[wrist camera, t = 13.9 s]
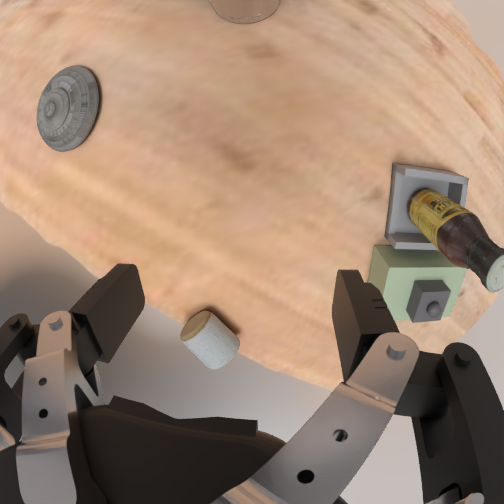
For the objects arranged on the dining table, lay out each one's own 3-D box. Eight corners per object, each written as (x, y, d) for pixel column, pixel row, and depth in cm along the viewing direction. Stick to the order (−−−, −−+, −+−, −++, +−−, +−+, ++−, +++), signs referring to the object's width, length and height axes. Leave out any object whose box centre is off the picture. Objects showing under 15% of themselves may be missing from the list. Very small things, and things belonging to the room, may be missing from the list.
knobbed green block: (383, 162, 33) (419, 177, 23) (459, 173, 32) (504, 192, 22) (365, 295, 42) (382, 341, 32) (433, 292, 41) (460, 332, 31)
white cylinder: (212, 300, 46) (200, 331, 39) (243, 331, 48) (237, 362, 41) (174, 325, 50) (160, 353, 43) (204, 351, 52) (194, 380, 45)
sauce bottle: (441, 188, 33) (531, 243, 15) (435, 227, 35) (511, 300, 17) (405, 183, 33) (494, 240, 15) (400, 225, 36) (472, 304, 18)
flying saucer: (42, 86, 31) (21, 86, 26) (101, 53, 29) (80, 48, 24) (49, 159, 37) (28, 165, 32) (108, 137, 35) (87, 141, 30)
